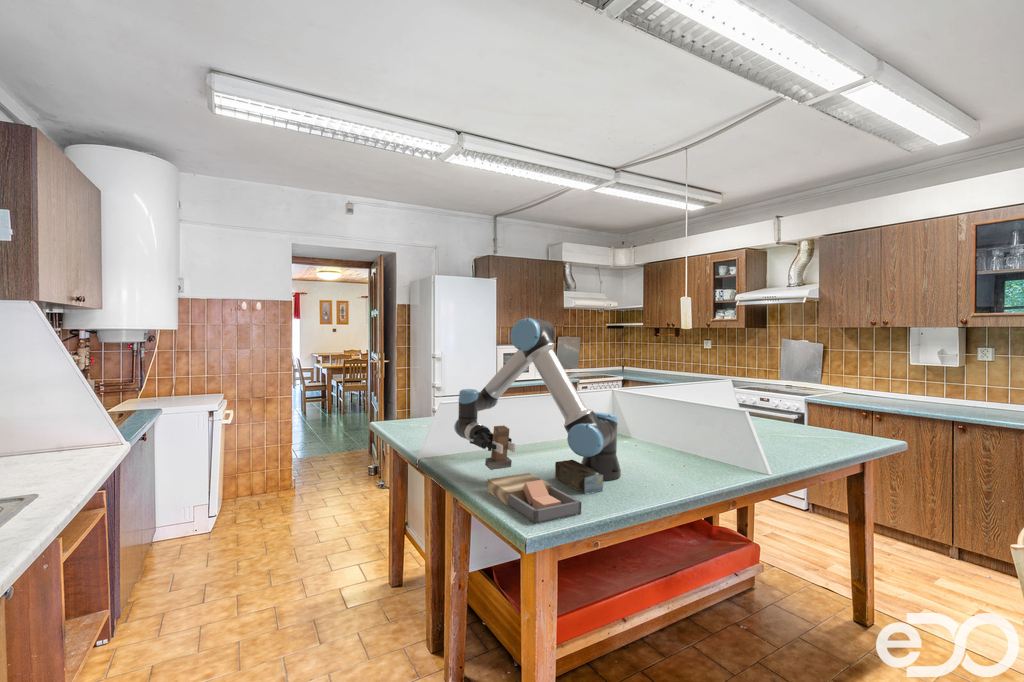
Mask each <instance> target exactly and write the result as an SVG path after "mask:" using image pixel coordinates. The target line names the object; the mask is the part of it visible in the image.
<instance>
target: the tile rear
mask: <svg viewBox="0 0 1024 682" xmlns="http://www.w3.org/2000/svg"><path fill="white" fill-rule="evenodd" d="M543 481H544V479H541V480H538V481H532V482H526V483H525V485H524V486H523V491H524V493H525V495H526V498H527V500H528V502H529V505H533V498H536V497H542V496H547V495H549V494H548V491H547V489H546V487H545V485H544V483H543Z"/></svg>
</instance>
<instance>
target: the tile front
mask: <svg viewBox="0 0 1024 682" xmlns="http://www.w3.org/2000/svg"><path fill="white" fill-rule="evenodd" d="M557 505H561V501H559V500H557V499H556V498H554V497H552V496H550V495H547V496H542V497H536V498H533V508H535V509H536V510H537V509H542V508H547V507H552V506H557Z"/></svg>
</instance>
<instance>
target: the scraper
mask: <svg viewBox="0 0 1024 682" xmlns="http://www.w3.org/2000/svg"><path fill="white" fill-rule="evenodd" d="M492 433H493V441H495V442H497V443H499V444H501V445H503V454H501V453H499V452H497V451H495V450H493V449H491V455H490V457H485V462H484V465H485V466H486V468H488V469H489V470H490V471H494V470H501V469H508V468H511V467H512V464H513V463H512V459H511V458H509V457H508V451H509V450H508V440H509V438H510V428H509V427H507V426H506V425H495V426H493V432H492Z"/></svg>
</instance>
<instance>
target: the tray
mask: <svg viewBox="0 0 1024 682" xmlns="http://www.w3.org/2000/svg"><path fill="white" fill-rule="evenodd" d="M549 495H550V496H552V497H554V498H556V499H557V500H559V501H561V505H557V506H552V507H547V508H542V509H537V510H536V509H535V508H533V505H529V502H528V501H522V500H520V499H519V498H517V497H516V496H514V495H513V494H509V502H508V505H507V506H508V507H510V508H511V509H513V510H514V511H516V513H518V514H520V515H521V516H522V517H524V518H526V519H527V520H528V519H529V521H530V522H531V521H532V522H531V523H533V524H534V523H535V524H534V525H536V523H537V524H541V523H540V522H542V523H546V522H550V521H549V520H551V521H554V520H553V519H556V520H559V519H558V518H560V519H563V518H562V517H565V518H568V517H567V516H569V517H572V516H571V515H574V516H577V515H576V514H578V515H581V514H582V501H580V500H579V499H577V498H576V497H575V498H574V497H573V496H571V495H569V494H568V493H565V492H563V491H562V490H561V489H560V490H559V489H558V488H555V487H554V486H552V487H550V494H549ZM580 513H581V514H580ZM545 521H546V522H545Z"/></svg>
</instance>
